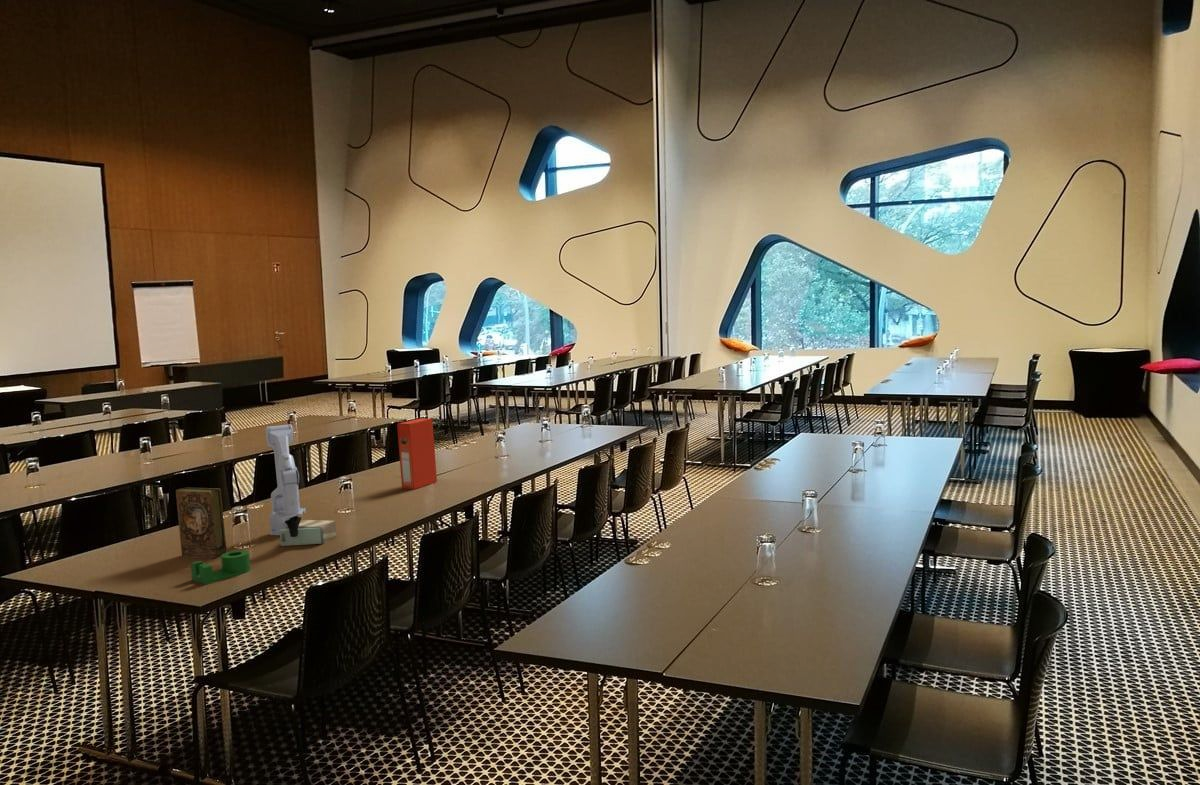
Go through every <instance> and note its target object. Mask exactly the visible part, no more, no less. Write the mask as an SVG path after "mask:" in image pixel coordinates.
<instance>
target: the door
mask: <svg viewBox="0 0 1200 785" xmlns="http://www.w3.org/2000/svg"><path fill="white" fill-rule="evenodd" d="M279 540H280V547H284V546H287V547H288V546H300V545H301V546H302V545H304V546H305V545H316V544H322V543H323V536H322V527H320V528H305V529H298V535H297V537H291V536H290V532H289V529H287V530H280V535H279Z"/></svg>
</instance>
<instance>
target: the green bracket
mask: <svg viewBox="0 0 1200 785" xmlns="http://www.w3.org/2000/svg"><path fill="white" fill-rule="evenodd" d="M220 559H221V561H220V564H221V568H218V569H214V570H212V565H211V564H210V563H208V562H205V563H204V562H203V561H201V560H197V561H193V562H191V563H190V572H191V581H194V582H196V583H199V584H203V585H204V586H205V585H209V584H212V583H215V582H220V581H222V580H226V579H230V578H234V577H236V576H240V575H243V574H246V573H248V572H251V560H250V552H249V550H245V549H239V550H237V549H236V550H230V551H226V553H224V554H222V555H220Z"/></svg>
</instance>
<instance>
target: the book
mask: <svg viewBox="0 0 1200 785" xmlns="http://www.w3.org/2000/svg"><path fill="white" fill-rule="evenodd" d="M175 497H176V498H175V499H176V509H177V510H176V511H177V517H178V518H177V520H178V529H179V531H178V532H179V537H180V539H179V540H180V550H181V557H182V558H192V559H193V558H195V559H197V558H198V559H216V558H218V557H219V556H220V557H221V555H222V554H224V553H227V539H226V531H225V520H224V510H223V501H222V500H223V498H222V490H221V488H215V487H213V488H210V487H209V488H208V487H182V488H178V489H176V490H175Z"/></svg>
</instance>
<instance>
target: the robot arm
mask: <svg viewBox="0 0 1200 785" xmlns="http://www.w3.org/2000/svg"><path fill="white" fill-rule="evenodd" d="M265 439H266V444H267V447H270V448H272V450H273V453H274V454H273V455H274V464H275V474H276V484H277V487H276V488H275V489H274V490H272V492H271V494H270V504H271V505H270V506H271V511H272V512H271V514H270V515H269V527H270V533H269V535H270V536H280V530H286V526H288V528H289V532H290V536H291V537H297V535H298V526H299V523H300V521H301V520H302V517H301V516H302V515H304V514H306V513H307V511H306V508H305V507H300V494H299V483H300V473H299V470H298V467H297V466H296V464H295V463H296V462H295V459H294V456H293V455H292V454H290V447H289V446H290V445H292V442H293V440H294V428H293V425H292V424H291V423H289V424H283V425H271V426H268V425H267V426H266V427H265Z"/></svg>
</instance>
